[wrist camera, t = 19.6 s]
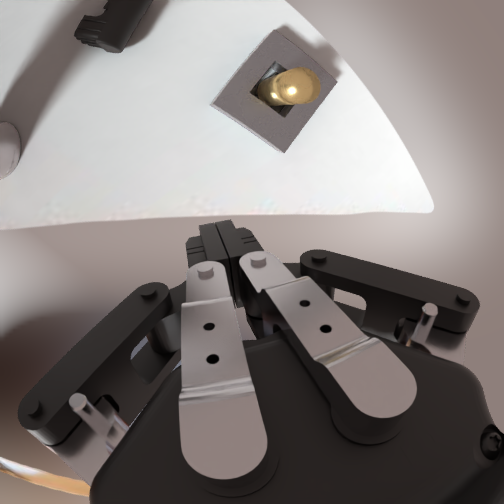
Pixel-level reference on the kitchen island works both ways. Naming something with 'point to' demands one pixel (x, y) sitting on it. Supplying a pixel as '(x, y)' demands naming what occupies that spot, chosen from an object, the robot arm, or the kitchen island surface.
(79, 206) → the kitchen island surface
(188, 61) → the kitchen island surface
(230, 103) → the jig
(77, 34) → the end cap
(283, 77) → the gold cylinder
